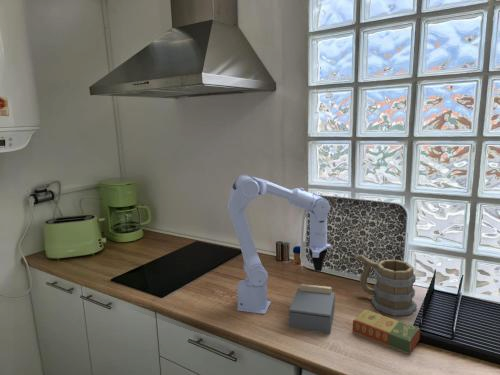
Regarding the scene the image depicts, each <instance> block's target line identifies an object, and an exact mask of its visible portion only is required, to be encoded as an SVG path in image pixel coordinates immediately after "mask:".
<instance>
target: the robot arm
mask: <svg viewBox="0 0 500 375" xmlns="http://www.w3.org/2000/svg"><path fill="white" fill-rule="evenodd" d="M230 189H231V190H230V193H229V198H228V202H227V210H228V214H229V216H230V219H231V222H232V225H233V229H234V232H235V235H236V239H237V240H238V245H239V247H240V250H241V254H242V258H243V271H244V273H245V275H246V276H245V279H240V280H239V282H238V285H237V293H236V294H237V309H236V310H237V311H239V312H240V311H241V312H246V313H247V312H248V313H255V314H259V315H260V314H261V315H265V314H266V312H267V310H268V309H269V307H270V305H271V303H272V301H271V300H268V287H267V286H268V285H267V284H268V279H269V273H268V271H267V270H266V269H265V267H264V265H263V264H262V261H261V259H260V257H259V254H258V251H257V248H256V245H255V241H254V238H253V234H252V231H251V229H250V225H249V222H248V219H247V214H246V213H245V209H246V208H247V206H248V205H249V203H250V202H252V201H253V200H254V199H255V198H257V196H263V195H265V194H270V195H273V196H276V197H280V198H282V199H286V200H288V202H289V203H288V204H290V205H291V206H294V207H296V208H299V209H302V210H305V211H309V243H308V247H309V251H308V252H309V253H308V254H309V256H310V258H311V260H312V263H313V267H314V271H315V272H322V270H323V266H324V260H325V258H326V255H327V253H328V249H331V246H332V245H331V244H330V243H328V215H329V213H330V211H331V207H332V206H331V204H330V202H329V201H328V199H327V198H324V197H322V196H320V195H318V194H317V193H315V192H313V193H311V192H309V191H306V189H305V188H303V187H301V186H300V187H299V188H297V187H296V188H292V189H289V188H286V187H285V186H281V185H278V184H276V183H273V182H271V181H269V180H267V179H263V178H260V177H256V176H252V177H251V176H249V175H247V174H241V175H239V176H238V177H236V178H235V180H234V181H233V183H232V184H231V188H230Z"/></svg>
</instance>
